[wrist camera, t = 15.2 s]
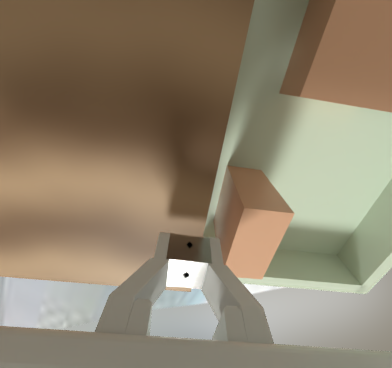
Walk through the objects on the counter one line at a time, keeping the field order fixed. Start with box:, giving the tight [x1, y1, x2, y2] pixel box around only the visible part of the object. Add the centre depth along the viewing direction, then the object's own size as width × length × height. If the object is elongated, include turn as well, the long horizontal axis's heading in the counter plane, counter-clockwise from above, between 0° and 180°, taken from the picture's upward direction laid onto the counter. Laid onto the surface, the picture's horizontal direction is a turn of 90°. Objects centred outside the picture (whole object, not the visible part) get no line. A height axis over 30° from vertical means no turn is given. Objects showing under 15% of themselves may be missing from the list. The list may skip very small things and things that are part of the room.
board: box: [0, 0, 255, 292], centre depth 10 cm, size 22×14×4 cm, turn 172°
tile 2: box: [213, 166, 295, 279], centre depth 12 cm, size 5×5×2 cm
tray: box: [203, 0, 392, 294], centre depth 11 cm, size 22×14×4 cm, turn 172°
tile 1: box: [279, 0, 392, 113], centre depth 9 cm, size 5×5×2 cm
